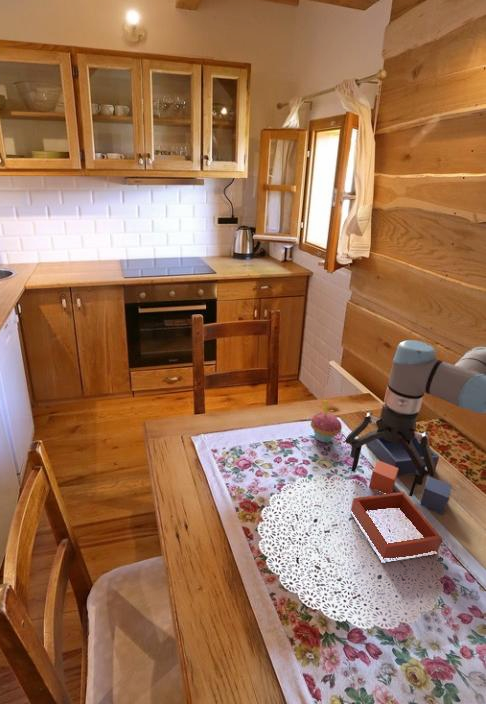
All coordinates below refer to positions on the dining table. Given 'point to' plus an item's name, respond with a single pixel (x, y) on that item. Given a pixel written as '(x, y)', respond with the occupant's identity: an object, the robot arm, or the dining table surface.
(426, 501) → the slate block
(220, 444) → the dining table surface
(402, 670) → the dining table surface
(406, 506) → the terracotta bin
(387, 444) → the slate bin
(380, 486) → the terracotta block
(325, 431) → the cupcake
